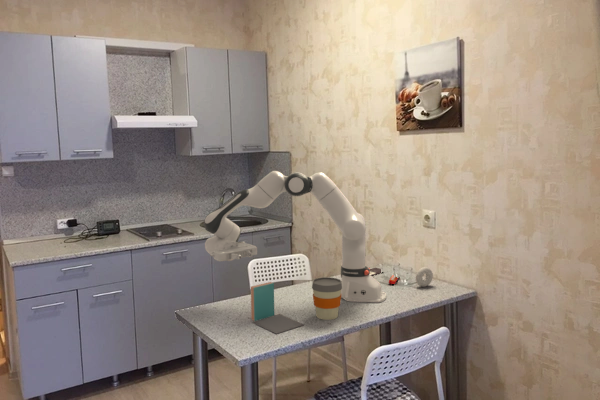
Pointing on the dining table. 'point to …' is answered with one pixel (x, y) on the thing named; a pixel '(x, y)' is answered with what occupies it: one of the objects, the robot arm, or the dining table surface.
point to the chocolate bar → (375, 271)
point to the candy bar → (393, 280)
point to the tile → (262, 301)
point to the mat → (278, 323)
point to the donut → (420, 274)
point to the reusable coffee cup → (327, 297)
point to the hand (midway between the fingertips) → (245, 256)
